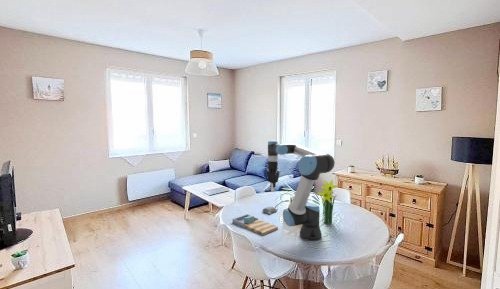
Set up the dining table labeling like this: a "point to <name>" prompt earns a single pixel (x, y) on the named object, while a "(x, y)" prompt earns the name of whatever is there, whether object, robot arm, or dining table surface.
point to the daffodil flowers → (328, 201)
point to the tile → (249, 219)
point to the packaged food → (269, 210)
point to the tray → (241, 220)
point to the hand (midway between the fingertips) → (273, 191)
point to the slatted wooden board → (261, 227)
